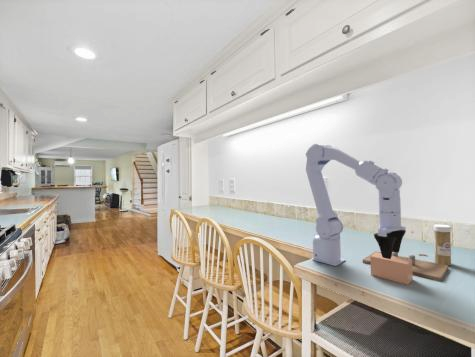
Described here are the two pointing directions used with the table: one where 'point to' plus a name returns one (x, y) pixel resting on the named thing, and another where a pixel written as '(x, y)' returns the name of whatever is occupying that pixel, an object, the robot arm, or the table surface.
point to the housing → (392, 268)
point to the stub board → (420, 267)
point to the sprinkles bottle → (442, 244)
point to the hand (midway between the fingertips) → (390, 255)
